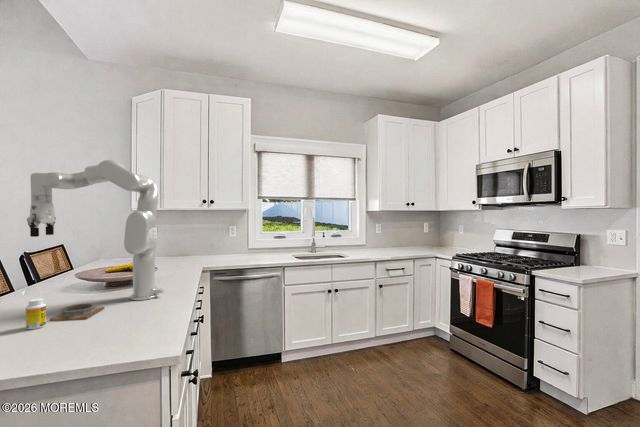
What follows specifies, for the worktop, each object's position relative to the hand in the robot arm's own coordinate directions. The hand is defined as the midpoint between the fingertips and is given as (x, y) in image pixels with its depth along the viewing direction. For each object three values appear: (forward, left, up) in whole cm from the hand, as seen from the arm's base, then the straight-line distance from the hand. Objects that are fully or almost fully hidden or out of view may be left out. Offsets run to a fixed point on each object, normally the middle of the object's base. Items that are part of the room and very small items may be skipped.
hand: (42, 235), depth 152 cm
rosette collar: (-29, +24, -31) cm, 48 cm away
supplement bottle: (-22, +37, -31) cm, 53 cm away
